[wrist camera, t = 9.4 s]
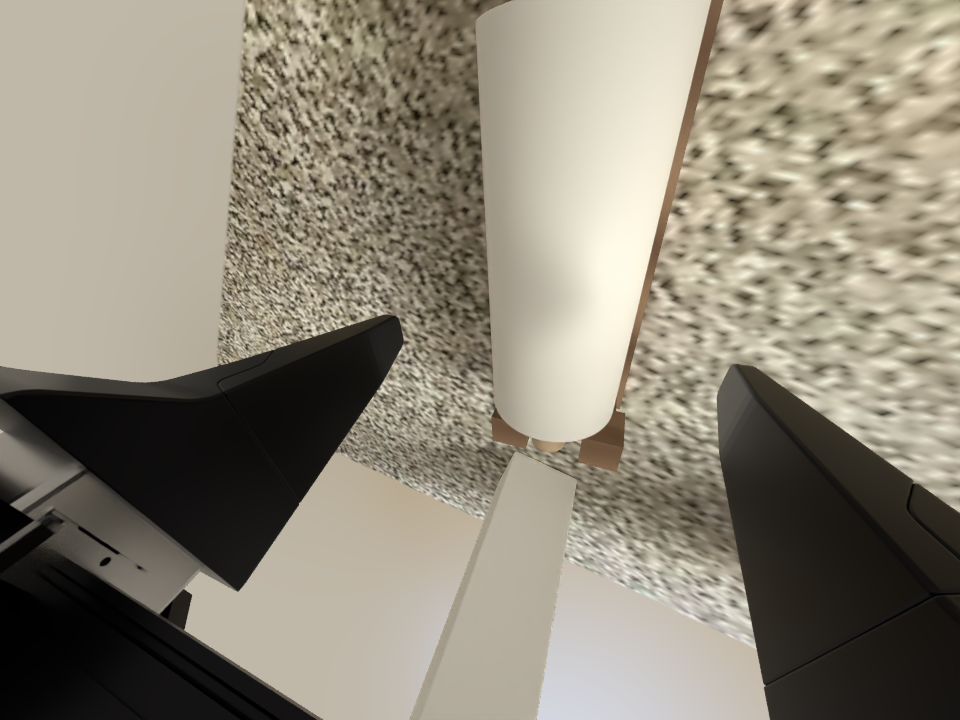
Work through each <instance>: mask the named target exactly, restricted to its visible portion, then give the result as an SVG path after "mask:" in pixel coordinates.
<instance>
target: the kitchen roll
mask: <svg viewBox="0 0 960 720" xmlns="http://www.w3.org/2000/svg"><path fill="white" fill-rule="evenodd" d="M710 3H711V0H512V1H509V2H506V3H504V4H501V5H499V6H496V7H494V8H492V9H490V10H488V11H487V12H485V13H483V14H482V15H481V16H480V17H479V18H477V20H476V44H477V64H478V84H479V104H480V124H481V144H482V164H483V184H484V203H485V223H486V243H487V263H488V283H489V303H490V323H491V343H492V363H493V383H494V402H495V406H496V409H497V411H498V413H499V415H500V416H501V418H502V419H503V420H504V421H505V422H506V423H507V424H508V425H509V426H511V427H512V428H513V429H515V430H516V431H518V432H520V433H522V434H524V435H526V436H529V437H531V438H532V441H533V443H534V445H535V446H536V447H537V448H538V449H540V450H542V451H545V452H555V451H558V450H560V449H561V448H562V447H563V446H564V444H565V442H571V441H578V440H581V439H585V438H587V437H590V436H592V435H594V434H596V433H597V432H599V431H600V430H601V429H603V428H604V427H605V426H606V424H607V423H608V422H609V420H610V419H611V416H612V413H613V410H614V405H615V401H616V397H617V393H618V389H619V384H620V380H621V376H622V372H623V368H624V363H625V359H626V355H627V351H628V347H629V343H630V338H631V334H632V330H633V326H634V322H635V317H636V313H637V309H638V305H639V301H640V296H641V292H642V288H643V284H644V280H645V275H646V271H647V267H648V263H649V259H650V255H651V250H652V246H653V242H654V238H655V234H656V229H657V225H658V221H659V217H660V213H661V208H662V204H663V200H664V196H665V192H666V188H667V183H668V179H669V175H670V171H671V167H672V162H673V158H674V154H675V150H676V146H677V141H678V137H679V133H680V129H681V125H682V120H683V116H684V112H685V108H686V104H687V100H688V95H689V91H690V87H691V83H692V79H693V74H694V70H695V66H696V62H697V58H698V53H699V49H700V45H701V41H702V37H703V33H704V28H705V24H706V20H707V16H708V12H709V7H710Z"/></svg>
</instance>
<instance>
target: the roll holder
mask: <svg viewBox="0 0 960 720" xmlns="http://www.w3.org/2000/svg"><path fill="white" fill-rule="evenodd" d="M722 4H723V0H711V3H710V7H709V12H708V16H707V20H706V24H705V28H704V33H703V37H702V41H701V45H700V49H699V53H698V58H697V62H696V66H695V70H694V74H693V79H692V83H691V87H690V91H689V95H688V100H687V104H686V108H685V112H684V116H683V120H682V125H681V129H680V133H679V137H678V141H677V146H676V150H675V154H674V158H673V162H672V167H671V171H670V175H669V179H668V183H667V188H666V192H665V196H664V200H663V204H662V208H661V213H660V217H659V221H658V225H657V229H656V234H655V238H654V242H653V246H652V250H651V255H650V259H649V263H648V267H647V271H646V275H645V280H644V284H643V288H642V292H641V296H640V301H639V305H638V309H637V313H636V317H635V322H634V326H633V330H632V334H631V338H630V343H629V347H628V351H627V355H626V359H625V363H624V368H623V372H622V376H621V380H620V384H619V389H618V393H617V397H616V401H615V405H614V410H613V413H612V416H611V419H610V420H609V422H608V423H607V424H606V426H605V427H604V428H603V429H601V430H600V431H599V432H597V433H596V434H594V435H592V436H590V437H587V438H585V439H582V442H581V448H580V454H579V459H578V462H580V463H584V464H588V465H592V466H596V467H600V468H603V469H607V470H611V471H615V472H616V471H617V468H618V464H619V461H620V457H621V454H622V451H623V446H624V426H625V413H622V412H617V411H616V408H617V409H620V405H621V401H622V397H623V393H624V389H625V386H626V382H627V378H628V374H629V370H630V366H631V362H632V358H633V354H634V350H635V346H636V342H637V338H638V334H639V331H640V327H641V323H642V319H643V315H644V311H645V307H646V303H647V299H648V295H649V291H650V287H651V283H652V279H653V276H654V272H655V268H656V264H657V260H658V256H659V252H660V248H661V244H662V240H663V236H664V232H665V228H666V224H667V221H668V217H669V213H670V209H671V205H672V201H673V197H674V193H675V189H676V185H677V181H678V177H679V173H680V169H681V165H682V162H683V158H684V154H685V150H686V146H687V142H688V138H689V134H690V130H691V126H692V122H693V118H694V114H695V110H696V107H697V103H698V99H699V95H700V91H701V87H702V83H703V79H704V75H705V71H706V67H707V63H708V59H709V55H710V52H711V48H712V44H713V40H714V36H715V32H716V28H717V24H718V20H719V16H720V12H721V8H722ZM492 433H493V441H497V442H501V443H505V444H509V445H513V446H517V447H521V448H526V445H527V442H528V439H529V436H526V435H524V434H522V433H520V432H518V431H516V430H515V429H513V428H512V427H511V426H509V425H508V424H507V423H506V422H505V421H504V420H503V419H502V418H501V416H500V415H499V413H498V411H497V409H495V411H494V413H493V415H492Z"/></svg>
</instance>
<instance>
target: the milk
mask: <svg viewBox="0 0 960 720" xmlns="http://www.w3.org/2000/svg"><path fill="white" fill-rule="evenodd" d="M576 484H577V479H575V478H573V477H571V476H569V475H567V474H564V473H562V472H560V471H558V470H556V469H554V468H552V467H550V466H547V465H545V464H543V463H541V462H539V461H537V460H535V459H532V458H530V457H528V456H526V455H524V454H522V453H520V452H518V451H515V453H514V454H513V456H512V458H511V460H510V462H509V464H508V466H507V467H506V469H505V471H504V473H503V475H502V477H501V479H500V480H499V482H498V485H497V488H496V490H495V493H494V496H493V498H492V501H491V504H490V506H489V509H488V512H487V514H486V517H485V520H484V522H483V525H482V528H481V530H480V533H479V536H478V538H477V541H476V544H475V546H474V549H473V552H472V555H471V557H470V560H469V562H468V565H467V568H466V571H465V573H464V576H463V578H462V581H461V584H460V586H459V589H458V592H457V594H456V597H455V600H454V602H453V605H452V608H451V610H450V613H449V616H448V618H447V621H446V624H445V626H444V629H443V632H442V635H441V637H440V640H439V643H438V645H437V648H436V650H435V653H434V656H433V659H432V661H431V664H430V667H429V669H428V672H427V674H426V677H425V680H424V682H423V685H422V688H421V690H420V693H419V696H418V698H417V701H416V704H415V706H414V709H413V712H412V715H411V717H410V720H537V714H538V708H539V702H540V697H541V691H542V685H543V679H544V672H545V667H546V661H547V655H548V649H549V643H550V637H551V632H552V626H553V620H554V613H555V608H556V602H557V596H558V590H559V584H560V578H561V572H562V567H563V561H564V555H565V549H566V543H567V537H568V531H569V525H570V519H571V513H572V507H573V502H574V496H575V490H576Z"/></svg>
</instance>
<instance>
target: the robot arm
mask: <svg viewBox="0 0 960 720" xmlns="http://www.w3.org/2000/svg"><path fill="white" fill-rule="evenodd" d="M403 341H404V339H403V334H402V330H401V325H400V321H399V319H398V317H396V316H393V315H381V316H378V317H375V318H372V319H369V320H366V321H363V322H359V323H356V324H353V325H350V326H347V327H344V328H340V329H337V330H334V331H331V332H328V333H325V334H322V335H318V336H315V337H312V338H309V339H306V340H303V341H300V342H296V343H293V344H290V345H287V346H284V347H281V348H278V349H276V350H271V351H268V352H265V353H262V354H258V355H255V356H252V357H249V358H245V359H242V360H239V361H235V362H232V363H228V364H225V365H221V366H217V367H214V368H210V369H207V370H203V371H199V372H195V373H192V374H189V375H185V376H181V377H177V378H174V379H169V380H165V381H158V382H147V383H143V382H141V383H140V382H127V381H118V380H109V379H100V378H91V377H82V376H73V375H64V374H54V373H46V372H37V371H29V370H21V369H14V368H7V367H2V366H0V429H1V430H2V431H4V432H3V433H1V434H0V720H323V719H321V718H320V717H318V716H316V715H315V714H313V713H311V712H310V711H309V710H307V709H305V708H304V707H302V706H301V705H299V704H298V703H296V702H295V701H293V700H292V699H290V698H288V697H287V696H285V695H284V694H282V693H281V692H279V691H278V690H276V689H275V688H273V687H271V686H270V685H268V684H266V683H265V682H264V681H262V680H261V679H259V678H257V677H256V676H254V675H253V674H251V673H250V672H248V671H247V670H245V669H243V668H242V667H240V666H239V665H237V664H236V663H234V662H233V661H231V660H229V659H228V658H226V657H225V656H223V655H222V654H220V653H218V652H217V651H215V650H214V649H212V648H210V647H209V646H208V645H206V644H205V643H203V642H201V641H200V640H198V639H197V638H195V637H194V636H192V635H190V634H189V633H187V632H186V631H184V629H185V625H186V620H187V615H188V611H189V607H190V602H191V598H192V595H191V594H190V593H189V592H187V591H186V590H184V588H185V587H186V586H187V585H188V584H189V583H190V582H191V580H192V579H193V578H194V577H195V576H196V575H197V574H198V573H199V572H202V573H204V574H206V575H208V576H210V577H211V578H213V579H215V580H217V581H219V582H221V583H222V584H224V585H226V586H228V587H230V588H232V589H233V590H235V591H239V590H240V589H241V588H242V587H243V585H244V584H245V583H246V582H247V580H248V579H249V577H250V576H251V574H252V573H253V571H254V570H255V568H256V567H257V566H258V564H259V562H260V561H261V559H262V558H263V557H264V555H265V554H266V552H267V551H268V549H269V548H270V546H271V545H272V544H273V542H274V541H275V539H276V538H277V536H278V535H279V533H280V532H281V530H282V529H283V527H284V526H285V525H286V523H287V522H288V520H289V518H290V517H291V516H292V514H293V513H294V511H295V510H296V509H297V507H298V506H299V503H300V502H301V501H302V499H303V498H304V496H305V495H306V494H307V492H308V491H309V489H310V487H311V486H312V485H313V483H314V482H315V480H316V479H317V477H318V476H319V474H320V473H321V472H322V470H323V469H324V467H325V466H326V464H327V463H328V461H329V460H330V458H331V457H332V456H333V454H334V453H335V451H336V450H337V448H338V447H339V445H340V444H341V442H342V441H343V440H344V438H345V437H346V435H347V434H348V432H349V431H350V429H351V428H352V426H353V425H354V424H355V422H356V421H357V419H358V418H359V416H360V415H361V413H362V412H363V410H364V409H365V407H366V406H367V405H368V403H369V402H370V400H371V399H372V397H373V396H374V394H375V393H376V391H377V390H378V388H379V387H380V385H381V384H382V382H383V381H384V379H385V377H386V375H387V374H388V372H389V370H390V368H391V366H392V364H393V362H394V361H395V359H396V357H397V355H398V353H399V351H400V349H401V348H402V345H403ZM717 415H718V438H719V454H720V461H721V467H722V472H723V477H724V482H725V487H726V493H727V498H728V503H729V508H730V513H731V518H732V524H733V529H734V534H735V539H736V544H737V549H738V555H739V560H740V565H741V570H742V575H743V581H744V586H745V591H746V596H747V601H748V606H749V612H750V617H751V622H752V627H753V632H754V637H755V643H756V648H757V652H758V658H759V663H760V668H761V674H762V679H763V683H764V685H766V686H765V687H764V690H765V696H766V701H767V706H768V711H769V717H770V720H960V513H959V512H957V511H956V510H955V509H953V508H952V507H950V506H949V505H947V504H946V503H944V502H943V501H942V500H940V499H939V498H938V497H936V496H935V495H933V494H932V493H931V492H929V491H928V490H926V489H925V488H924V487H922V486H921V485H919V484H916V483H915V484H913V480H912V479H911V478H910V477H908V476H907V475H905V474H904V473H903V472H901V471H900V470H898V469H897V468H896V467H894V466H893V465H891V464H890V463H889V462H887V461H886V460H884V459H883V458H882V457H880V456H879V455H877V454H876V453H875V452H873V451H872V450H870V449H869V448H868V447H866V446H865V445H863V444H862V443H861V442H859V441H858V440H856V439H855V438H854V437H852V436H851V435H849V434H848V433H847V432H845V431H844V430H842V429H841V428H840V427H838V426H837V425H835V424H834V423H833V422H831V421H830V420H828V419H827V418H826V417H824V416H823V415H822V414H820V413H819V412H817V411H816V410H815V409H813V408H812V407H810V406H809V405H808V404H806V403H805V402H803V401H802V400H801V399H799V398H798V397H796V396H795V395H794V394H792V393H791V392H789V391H788V390H787V389H785V388H784V387H782V386H781V385H780V384H778V383H777V382H775V381H774V380H773V379H771V378H770V377H768V376H767V375H766V374H764V373H763V372H761V371H760V370H759V369H757V368H756V367H753V366H748V365H741V364H733V365H732V366H731V367H730V368H729V370H728V372H727V374H726V376H725V378H724V380H723V382H722V384H721V387H720V389H719V391H718V395H717Z"/></svg>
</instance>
